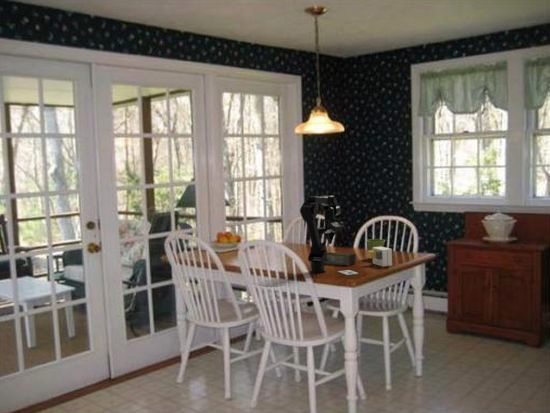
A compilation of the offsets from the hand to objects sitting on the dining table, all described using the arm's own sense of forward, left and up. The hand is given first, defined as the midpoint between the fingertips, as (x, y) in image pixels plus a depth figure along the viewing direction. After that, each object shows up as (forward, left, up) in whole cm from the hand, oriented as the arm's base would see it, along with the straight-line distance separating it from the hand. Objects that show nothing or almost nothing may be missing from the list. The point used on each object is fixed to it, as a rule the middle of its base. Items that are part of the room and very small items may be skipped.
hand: (330, 244), depth 328 cm
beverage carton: (+10, +4, -14) cm, 17 cm away
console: (+26, -16, -13) cm, 33 cm away
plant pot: (+37, +1, -13) cm, 39 cm away
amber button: (+21, -12, -9) cm, 26 cm away
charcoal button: (+23, -18, -9) cm, 30 cm away
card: (-4, -21, -13) cm, 25 cm away
